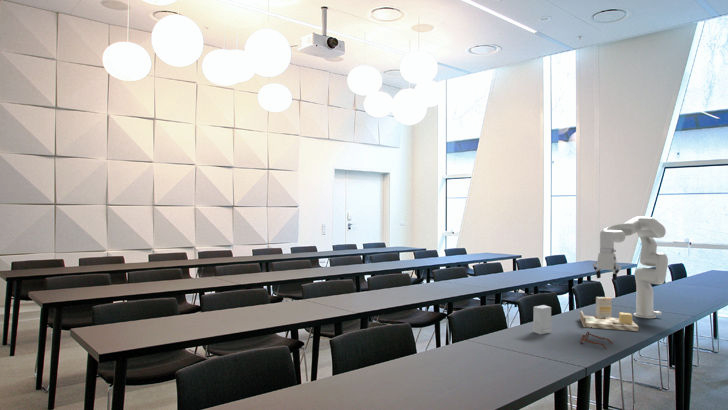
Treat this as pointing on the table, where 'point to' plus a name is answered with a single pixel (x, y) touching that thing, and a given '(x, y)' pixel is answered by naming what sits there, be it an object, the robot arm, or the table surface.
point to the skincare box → (542, 319)
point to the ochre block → (625, 317)
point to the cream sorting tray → (606, 323)
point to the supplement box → (603, 307)
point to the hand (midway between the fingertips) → (606, 279)
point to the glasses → (592, 342)
